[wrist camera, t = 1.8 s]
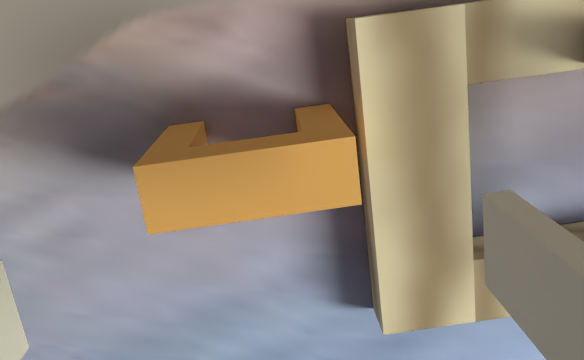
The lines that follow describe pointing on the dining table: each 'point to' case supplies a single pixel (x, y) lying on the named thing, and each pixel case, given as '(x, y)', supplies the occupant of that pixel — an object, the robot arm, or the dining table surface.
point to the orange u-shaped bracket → (248, 173)
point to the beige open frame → (439, 143)
